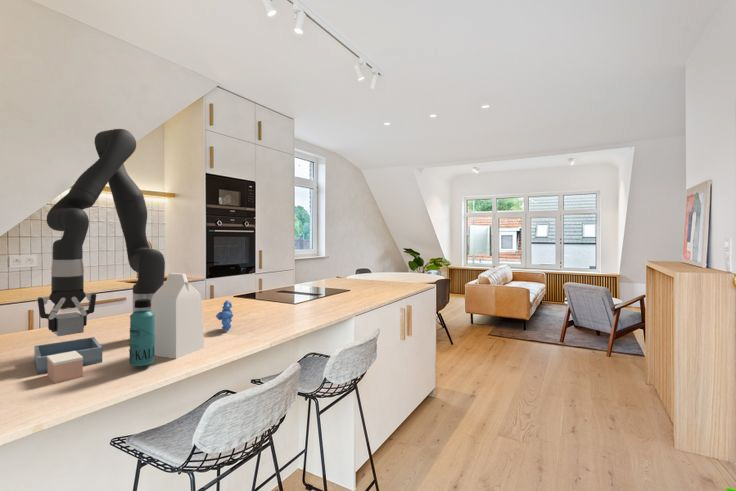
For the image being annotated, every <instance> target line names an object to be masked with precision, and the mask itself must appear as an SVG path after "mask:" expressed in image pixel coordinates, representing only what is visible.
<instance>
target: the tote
mask: <svg viewBox="0 0 736 491" xmlns="http://www.w3.org/2000/svg"><path fill="white" fill-rule="evenodd" d="M33 349H34V354H33V355H34V364H35V367H36V368H35V369H36V373H37V375H42V374H46V373H47V374H48V369H47V356H49V355H55V354H60V353H65V352H71V351H76V352H77V353H79V354H80V355H81V356H83V367H84V366H88V365H94V364H99V363H103V346H102V345H101V344H100V342H99V341H98V340H97V339H96V338H95V337H92V336H91V337H84V338H79V339H73V340H66V341H65V340H64V341H60V342H53V343H52V342H51V343H45V344H38V345H34V348H33Z"/></svg>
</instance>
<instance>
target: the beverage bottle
mask: <svg viewBox="0 0 736 491" xmlns="http://www.w3.org/2000/svg"><path fill="white" fill-rule="evenodd" d="M134 307H135V308H146V307H151V301H150V299H140V300H136V301H135V305H134ZM129 319H130V321H129V328H128V329H129V349H128V352H129V353H128V356H129V357H128V359H129V360H128V362H129V364H130V365H131V367H132V366H133V367H141V366H147V365H150V364H152V363H154V362H155V358H156V356H155V314H154V313H153V312H152V311H151V310H139V311H135V312H133V311H132V313H131V314H130V315H129Z"/></svg>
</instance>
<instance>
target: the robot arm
mask: <svg viewBox="0 0 736 491" xmlns="http://www.w3.org/2000/svg"><path fill="white" fill-rule="evenodd" d="M94 145H95V146H94V147H95V150H96V152H97V155H98V157H99V158H98V159H97V160H96V161H95V162H94V163H93V164H91V166H89V167H88V168H87V169H86V170H85V171H83V172H82V173H81V175H79V177H78V178H77V179H76V181H75V182H74V184H73V185H72V187H71V188H70V190H69V191H68V193H67V194H65V195H64V196H63V197H62V198H61V199H60V200H59V201H57V202H56V203H55V204H54V205H53V206H52V207H51V208H50V209H49V210H48V213H47V215H46V224H47V225H48V227H49V228H50V229H52V230H53V231H55V232H56V231H58V232H62V233H63V234H62V237H61V238H60V239H57V240H54V241H53V243H52V260H51V261H52V263H51V269H50V270H51V273H50V274H51V281H50V282H51V283H50V285H51V288H50V289H51V291H50V292H51V293H50V294H49V296H43V297H42V296H39V297H37V306H38V313H39V317H40V318H41V319H45V320H47V323H48V324H47V325H48V326H47V327H48V331H51V333H54V332H55V319H54V317H55V315H56V314H58V313H59V311H60V310H63V309H65V310H66V309H68V308H69V309H72V308H73V309H75V308H76V309H77V310H78V311H79V314H81V315H83V316H84V327H86V326H87V325H88V323H87V322H88V320H87V319H88V318H87V317H88V315H90V314H93V313H94V312H95V307H96V298H97V294H96V293H94V292H91V293H86V292H85V290H84V286H85V285H84V276H85V274H84V273H85V268H84V263H83V262H84V261H83V246H84V242H85V240H86V237H87V233H88V231H89V226H90V219H89V217H88V214H87V213H86V211H85V209H90V208H91V207H93V206H94V205H95V204H96V201H97V200H98V199H99V196H100V195H101V193H102V192H103V190H104V189H105V187H106V186H107V184H108V185H109V189H110V192H111V196H112V199H113V203H114V207H115V211H116V215H117V217H118V221H119V224H120V227H121V230H122V233H123V234H122V235H123V238H124V242H125V247H126V255H127V260H128V264H129V267H130V269H132V270H133V271H134V272H135V273H137V274H138V275H137V282H135V283H134V284H133V286H132V313H133V312H135V311H139V310H151V307H146V308H135V307H134V305H135V301H136V300H140V299H150V301H151V300H152V297H153V295H154V294H155V293H156V291H157V290H158V289H159V288H160V287H161V286H162V285H163V284H164V283H165V276H166V274H165V273H166V272H165V271H166V262H165V261H166V260H165V257H164V255H163V253H162V252H161V251H159V250H158V249H154V248H151V247H150V244H149V242H148V238H147V233H146V232H147V231H146V230H147V223H148V209H147V204H146V201H145V197H144V194H143V192H142V191H141V189H140V188H139V186H138V185H137V184H136V183H135V181H134V180H133V179H132V178H131V177H130V175H129V174H128V172H127V170H126V168H125V164H124V163H125V162H126V161H128V159H129V158H130V157H131V156H132V155H133V154H134V153H135V151H136V149H137V141H136V138H135V136H134V135H133V133H132V132H130V131H129V130H126V129H124V128H113V129H109V130H108V129H107V130H101V131H99V132H98V133H96V135H95V136H94ZM85 298H86V300H87V301H89V302H88V309H85V308H84V307H83V305H82V304H81V302H82V301H83V300H84V299H85ZM48 301H51V303H52V304H54V305H53V306H52V308H51V310H50V312H49V313H46V308H45V305H47V304H48Z"/></svg>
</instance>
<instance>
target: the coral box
mask: <svg viewBox="0 0 736 491" xmlns="http://www.w3.org/2000/svg"><path fill="white" fill-rule="evenodd" d="M83 368H84V366H83V356H81V355H80V354H79V353H77V352H76V351H71V352H65V353H60V354H55V355H49V356H47V369H48V372H47V377H48V378H49V379H50V380H51V381H52V382H53V383H54V384H56V383H57V384H58V383H61V382H65V381H69V380H74V379H77V378H79V379H80V378H83V376H84V375H83V374H84V371H83V370H84V369H83Z"/></svg>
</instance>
